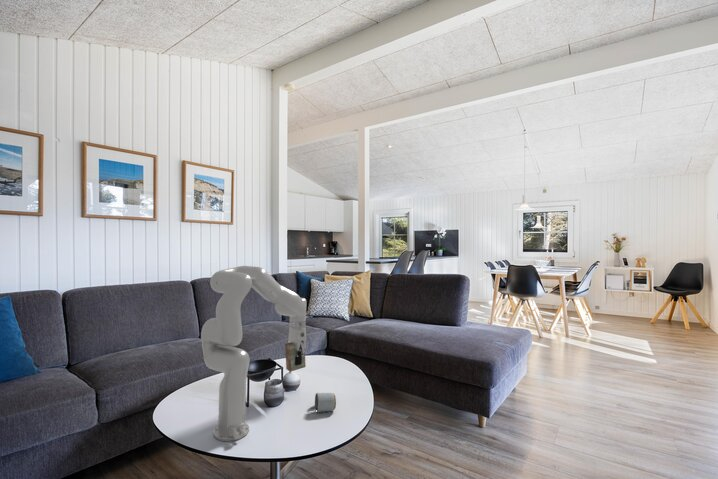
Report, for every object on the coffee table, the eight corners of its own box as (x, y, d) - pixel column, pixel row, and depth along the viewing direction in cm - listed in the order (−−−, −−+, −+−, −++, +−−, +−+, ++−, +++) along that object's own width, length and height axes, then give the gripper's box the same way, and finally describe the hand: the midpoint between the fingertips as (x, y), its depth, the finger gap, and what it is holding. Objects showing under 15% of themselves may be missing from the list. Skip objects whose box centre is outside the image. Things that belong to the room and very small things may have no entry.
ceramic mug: (336, 413, 155) (337, 395, 155) (317, 415, 153) (317, 397, 153) (330, 403, 165) (331, 385, 166) (312, 405, 163) (313, 387, 163)
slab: (305, 367, 174) (304, 341, 173) (290, 371, 169) (289, 345, 168) (301, 364, 177) (300, 340, 176) (286, 369, 172) (285, 343, 172)
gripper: (313, 327, 169) (311, 367, 168) (296, 320, 182) (294, 357, 182) (299, 328, 164) (297, 369, 164) (282, 321, 177) (280, 359, 177)
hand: (295, 363), depth 173 cm, fingers closed on slab, 4 cm apart
